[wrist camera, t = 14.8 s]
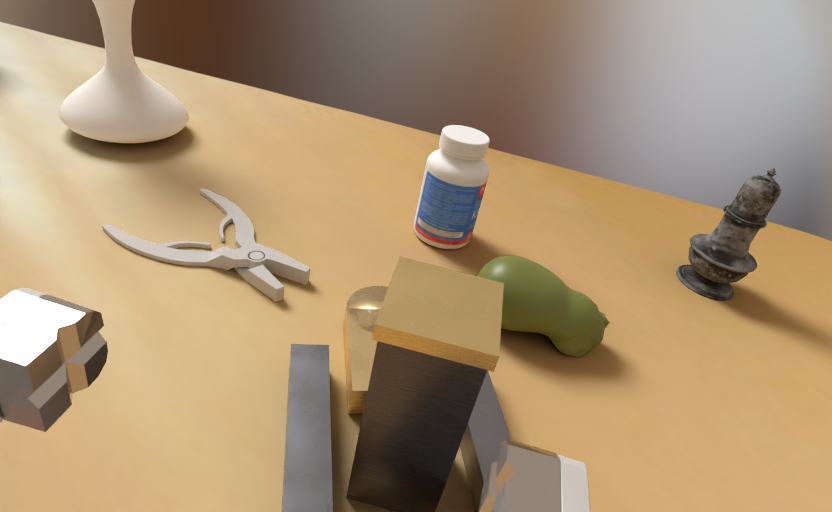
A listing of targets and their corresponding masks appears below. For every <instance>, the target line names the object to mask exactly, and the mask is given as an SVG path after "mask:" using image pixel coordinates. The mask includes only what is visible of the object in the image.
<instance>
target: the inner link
mask: <svg viewBox="0 0 832 512" xmlns="http://www.w3.org/2000/svg"><path fill="white" fill-rule="evenodd" d="M387 290H388V287H383V286H372V287H366V288H363V289H360V290H358V291H356V292H355V293H354V294H352V295H351V297H350V298H349V300H348V302H347V307H346V314H345V321H344V347H345V364H346V381H347V398H348V414H363V411H364V406H365V401H366V396H367V391H368V386H369V381H370V376H371V371H372V366H373V361H374V356H375V351H376V346H377V341H375V340H372V337H373V332H374V326H375V323H376V320H377V317H378V314H379V312H380V309H381V306H382V304H383V301H384V298H385V296H386V293H387Z"/></svg>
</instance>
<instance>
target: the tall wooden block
mask: <svg viewBox="0 0 832 512" xmlns="http://www.w3.org/2000/svg"><path fill="white" fill-rule="evenodd" d="M503 289H504V283H501V282H497V281H493V280H489V279H486V278H482V277H478V276H474V275H470V274H466V273H462V272H458V271H454V270H450V269H446V268H442V267H439V266H435V265H431V264H427V263H423V262H419V261H415V260H411V259H407V258H403V257H400V258H399V260H398V263H397V266H396V268H395V271H394V274H393V277H392V279H391V282H390V285H389V287H388V290H387V293H386V296H385V298H384V301H383V304H382V306H381V309H380V312H379V314H378V317H377V320H376V323H375V326H374V332H373V337H372V340H375V341H377V346H376V351H375V356H374V361H373V366H372V371H371V376H370V381H369V386H368V391H367V396H366V401H365V406H364V411H363V416H362V421H361V427H360V432H359V437H358V442H357V447H356V452H355V457H354V462H353V467H352V472H351V477H350V482H349V487H348V492H347V497H346V498H349V499H353V500H356V501H360V502H364V503H367V504H371V505H375V506H378V507H382V508H385V509H389V510H393V511H396V512H435V511H436V508H437V505H438V503H439V500H440V497H441V495H442V492H443V489H444V486H445V484H446V481H447V478H448V476H449V473H450V470H451V467H452V465H453V462H454V459H455V457H456V454H457V451H458V449H459V446H460V443H461V440H462V438H463V435H464V432H465V430H466V427H467V424H468V422H469V419H470V416H471V413H472V411H473V408H474V405H475V403H476V400H477V397H478V394H479V392H480V389H481V386H482V384H483V381H484V378H485V376H486V373H487V370H489V371H493V372H494V369H495V367H496V364H497V361H498V359H499V353H500V337H501V321H502V305H503Z"/></svg>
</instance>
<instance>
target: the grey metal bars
mask: <svg viewBox="0 0 832 512" xmlns="http://www.w3.org/2000/svg"><path fill="white" fill-rule="evenodd" d="M505 439H509V440H511V438H510V435H509V432H508V429H507V426H506V423H505V420H504V417H503V414H502V411H501V408H500V405H499V402H498V399H497V396H496V393H495V390H494V387H493V384H492V382H491V379H490V376H489V373H488V370H487V373H486V376H485V378H484V381H483V384H482V386H481V389H480V392H479V394H478V397H477V400H476V403H475V405H474V408H473V411H472V413H471V416H470V419H469V422H468V424H467V427H466V430H465V432H464V435H463V438H462V440H461V443H460V448H461V452H462V456H463V460H464V464H465V468H466V472H467V477H468V481H469V485H470V489H471V493H472V497H473V501H474V505H475V509H476V512H479V507H480V499H481V494H482V488H483V485H484V481H485V478H486V475H487V472H488V470H489V468H490V466H491V464H492V463H494V462H497V461H498V451H499V448H500V446H501V444H502V442H503V441H504V440H505ZM282 512H333V493H332V454H331V415H330V376H329V345H302V344H291V355H290V369H289V388H288V406H287V425H286V444H285V463H284V482H283V501H282Z"/></svg>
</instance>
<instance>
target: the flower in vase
mask: <svg viewBox="0 0 832 512" xmlns="http://www.w3.org/2000/svg"><path fill="white" fill-rule="evenodd" d="M92 1H93V3H94V4H95V7H96V9H97V12H98V15H99V18H100V21H101V26H102V30H103V35H104V41H105V50H106V57H105V63H104V66H103V68H102V69H101V70H100V71H99V73H97V74H96V75H95V76H94V77H92V78H91V79H90V80H88V81H87V82H85V83H84V84H82V85H81V86H80V87H78V88H77V89H76V90H74V91H73V92H72V93H71V94H70V95H69V96H68V97H67V98H66V99H65V100H64V102H63V103H62V105H61V109H60V113H59V116H60V119H61V120H62V122H63V123H64V124H65V125H66V126H67V127H68V128H70V129H71V130H72V131H74V132H75V133H77V134H79V135H82V136H85V137H88V138H92V139H96V140H101V141H106V142H114V143H143V142H150V141H156V140H160V139H164V138H167V137H170V136H172V135H175V134H177V133H178V132H180V131H181V130H182V129H183V128H184V126H185V125H186V123H187V122H188V118H189V116H188V113H187V111H186V109H185V107H184V105H183V104H182V103H181V102H180V101H179V100H178V99H177V98H175V97H174V96H173V95H172V94H171V93H170V92H168V91H167V90H165V89H164V88H163V87H161V86H160V85H158V84H157V83H156V82H154V81H153V80H151V79H150V78H149V77H147V76H146V75H145V74H144V73H143V72H142V71H141V70H140V69H139V68H138V66H137V64H136V62H135V59H134V56H133V51H132V42H131V16H132V9H133V6H134V2H135V0H92Z"/></svg>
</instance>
